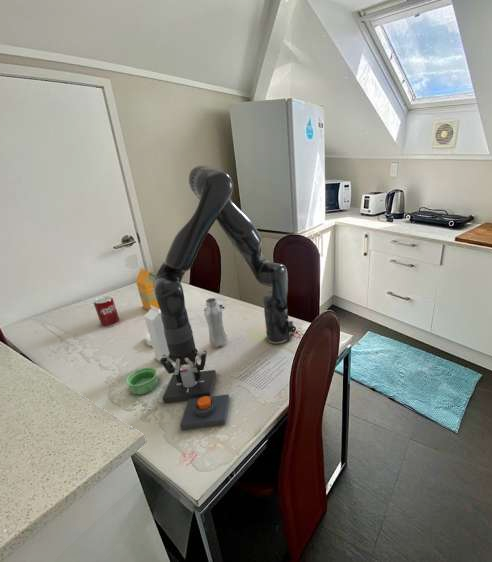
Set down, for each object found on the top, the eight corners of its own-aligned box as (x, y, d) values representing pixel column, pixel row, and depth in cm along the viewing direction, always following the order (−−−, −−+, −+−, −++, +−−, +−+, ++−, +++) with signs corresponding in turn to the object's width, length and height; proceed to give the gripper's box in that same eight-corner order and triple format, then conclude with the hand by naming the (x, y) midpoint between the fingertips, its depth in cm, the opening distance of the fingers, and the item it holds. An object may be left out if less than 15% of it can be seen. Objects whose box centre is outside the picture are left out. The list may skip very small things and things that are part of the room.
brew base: (216, 375, 109) (215, 369, 108) (210, 398, 99) (209, 391, 98) (174, 380, 107) (172, 374, 106) (164, 404, 97) (162, 397, 96)
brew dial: (199, 377, 104) (196, 365, 102) (195, 387, 100) (192, 374, 98) (185, 378, 104) (182, 366, 102) (181, 388, 100) (177, 375, 98)
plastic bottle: (222, 349, 123) (214, 304, 115) (207, 347, 124) (198, 303, 116) (230, 340, 129) (223, 297, 121) (215, 338, 130) (207, 295, 122)
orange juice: (158, 301, 162) (149, 265, 154) (167, 306, 157) (158, 269, 149) (142, 307, 156) (132, 270, 148) (151, 312, 151) (141, 274, 143)
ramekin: (127, 399, 99) (124, 388, 98) (131, 381, 107) (127, 371, 105) (158, 391, 103) (155, 380, 101) (160, 374, 110) (157, 364, 108)
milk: (171, 351, 123) (158, 301, 114) (179, 357, 119) (167, 305, 111) (155, 359, 118) (141, 307, 109) (164, 365, 115) (149, 312, 106)
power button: (212, 399, 94) (211, 395, 93) (210, 408, 91) (209, 404, 90) (199, 401, 93) (198, 396, 93) (197, 410, 90) (196, 406, 89)
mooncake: (168, 328, 138) (167, 321, 137) (184, 336, 132) (182, 329, 130) (141, 341, 129) (139, 333, 128) (156, 350, 123) (154, 343, 121)
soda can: (97, 325, 141) (89, 301, 136) (112, 317, 147) (105, 295, 142) (108, 328, 139) (100, 304, 134) (123, 320, 145) (116, 297, 140)
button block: (229, 399, 99) (227, 389, 97) (225, 425, 90) (223, 414, 88) (190, 404, 97) (187, 394, 96) (181, 430, 88) (178, 420, 86)
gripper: (150, 345, 91) (163, 391, 97) (201, 340, 93) (210, 385, 99) (158, 332, 97) (170, 375, 104) (206, 327, 99) (214, 370, 106)
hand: (189, 380), depth 102 cm, fingers closed on brew dial, 4 cm apart
